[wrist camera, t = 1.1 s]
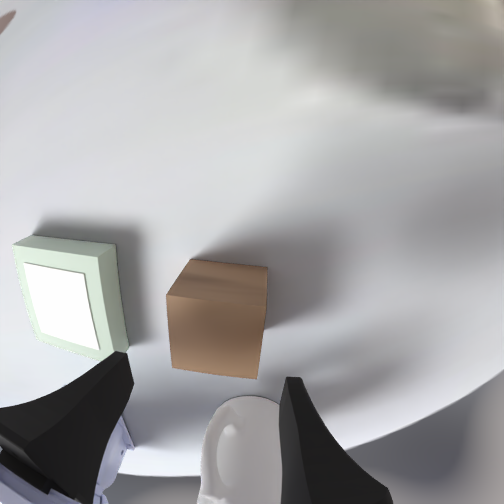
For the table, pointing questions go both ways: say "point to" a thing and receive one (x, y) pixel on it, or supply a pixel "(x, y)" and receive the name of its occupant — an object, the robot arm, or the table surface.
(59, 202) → the table surface
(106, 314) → the base plate
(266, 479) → the mug
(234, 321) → the walnut cube
